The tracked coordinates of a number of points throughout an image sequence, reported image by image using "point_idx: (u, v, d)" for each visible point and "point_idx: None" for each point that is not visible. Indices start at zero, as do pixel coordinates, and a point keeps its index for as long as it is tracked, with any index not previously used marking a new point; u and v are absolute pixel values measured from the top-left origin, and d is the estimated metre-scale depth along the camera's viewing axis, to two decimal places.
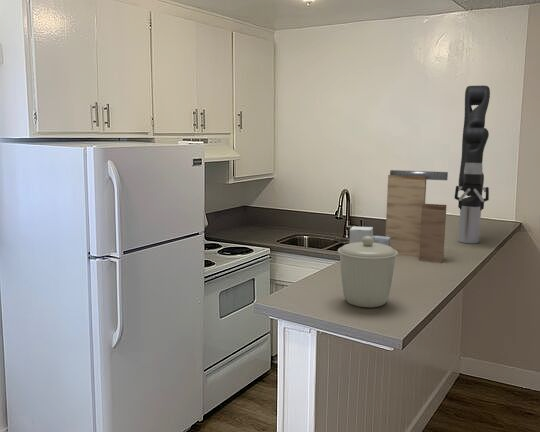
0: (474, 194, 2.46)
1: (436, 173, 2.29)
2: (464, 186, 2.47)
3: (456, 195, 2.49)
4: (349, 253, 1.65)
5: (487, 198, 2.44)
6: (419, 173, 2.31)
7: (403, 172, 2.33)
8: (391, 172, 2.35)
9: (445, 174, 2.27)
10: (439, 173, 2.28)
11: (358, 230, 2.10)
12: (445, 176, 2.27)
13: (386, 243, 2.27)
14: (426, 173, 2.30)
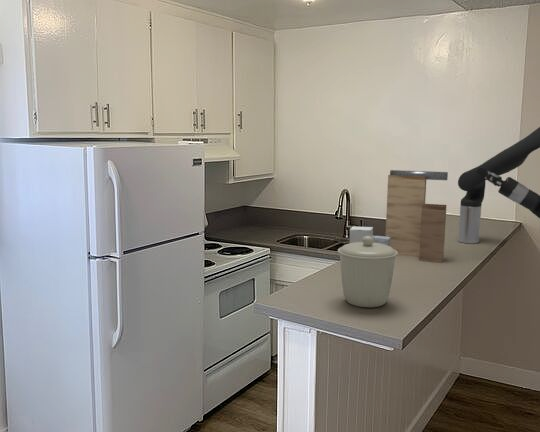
0: None
1: (436, 173, 2.29)
2: None
3: (489, 181, 2.22)
4: (349, 253, 1.65)
5: None
6: (419, 173, 2.31)
7: (403, 172, 2.33)
8: (391, 172, 2.35)
9: (445, 174, 2.27)
10: (439, 173, 2.28)
11: (358, 230, 2.10)
12: (445, 176, 2.27)
13: (386, 243, 2.27)
14: (426, 173, 2.30)
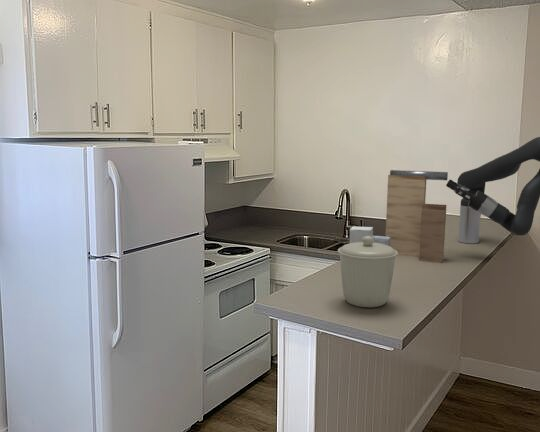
0: None
1: (436, 173, 2.29)
2: None
3: (458, 194, 2.22)
4: (349, 253, 1.65)
5: None
6: (419, 173, 2.31)
7: (403, 172, 2.33)
8: (391, 172, 2.35)
9: (445, 174, 2.27)
10: (439, 173, 2.28)
11: (358, 230, 2.10)
12: (445, 176, 2.27)
13: (386, 243, 2.27)
14: (426, 173, 2.30)
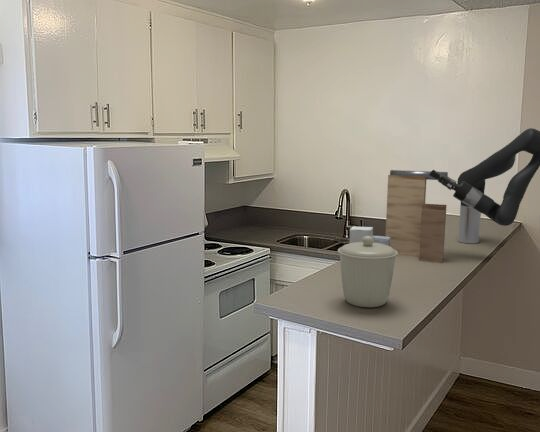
0: None
1: None
2: (453, 189, 2.25)
3: (441, 183, 2.25)
4: (349, 253, 1.65)
5: None
6: (419, 173, 2.31)
7: (403, 172, 2.33)
8: (391, 172, 2.35)
9: (445, 174, 2.27)
10: (439, 173, 2.28)
11: (358, 230, 2.10)
12: (445, 176, 2.27)
13: (386, 243, 2.27)
14: (426, 173, 2.30)
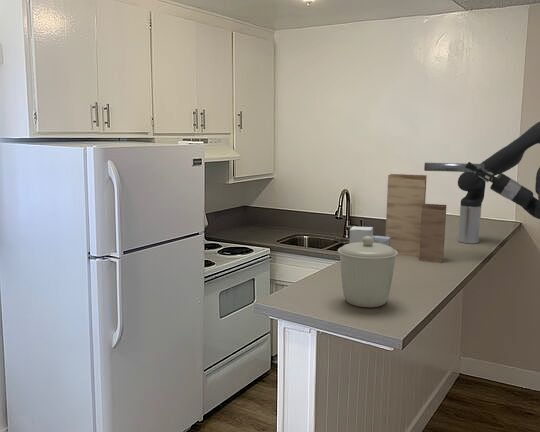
0: None
1: None
2: (490, 181, 2.20)
3: (478, 175, 2.20)
4: (349, 253, 1.65)
5: None
6: (455, 165, 2.25)
7: (438, 164, 2.28)
8: (425, 164, 2.29)
9: (482, 166, 2.22)
10: (476, 165, 2.23)
11: (358, 230, 2.10)
12: (482, 168, 2.22)
13: (386, 243, 2.27)
14: (462, 165, 2.24)
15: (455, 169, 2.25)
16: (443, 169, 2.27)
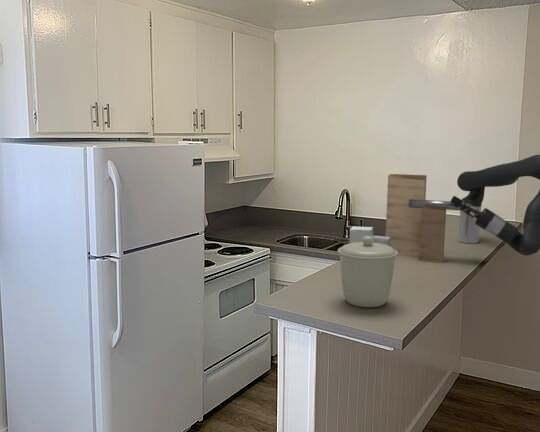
0: None
1: None
2: (475, 217, 2.17)
3: None
4: (349, 253, 1.65)
5: None
6: (439, 203, 2.23)
7: (422, 202, 2.25)
8: (410, 201, 2.26)
9: (466, 204, 2.19)
10: None
11: (358, 230, 2.10)
12: None
13: (386, 243, 2.27)
14: (446, 203, 2.22)
15: None
16: None
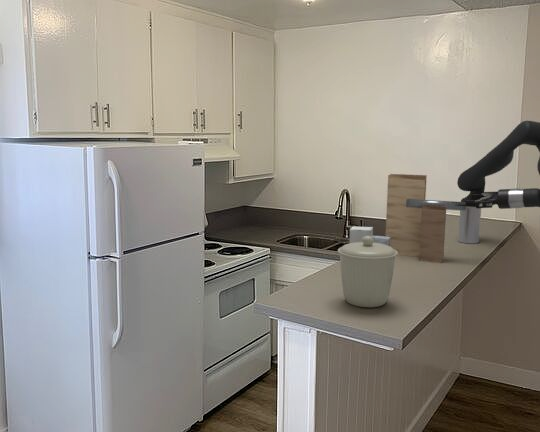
0: None
1: (454, 203, 2.21)
2: None
3: None
4: (349, 253, 1.65)
5: None
6: (437, 203, 2.23)
7: (420, 201, 2.25)
8: (407, 201, 2.26)
9: (464, 204, 2.20)
10: (458, 203, 2.21)
11: (358, 230, 2.10)
12: (464, 206, 2.20)
13: (386, 243, 2.27)
14: (444, 203, 2.22)
15: None
16: None
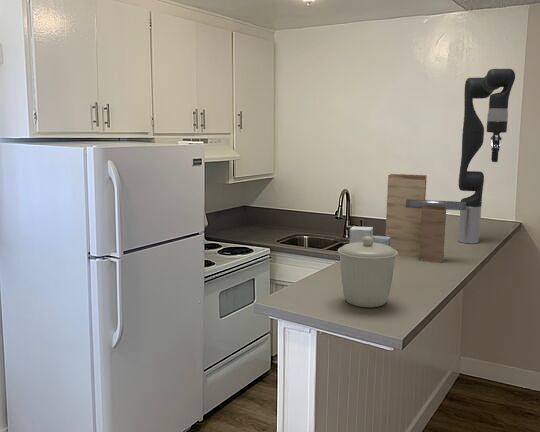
0: None
1: (454, 203, 2.21)
2: (499, 135, 2.20)
3: (499, 146, 2.17)
4: (349, 253, 1.65)
5: None
6: (437, 203, 2.23)
7: (420, 202, 2.25)
8: (407, 202, 2.26)
9: (464, 204, 2.20)
10: (457, 203, 2.21)
11: (358, 230, 2.10)
12: (464, 206, 2.20)
13: (386, 243, 2.27)
14: (444, 203, 2.22)
15: None
16: None
